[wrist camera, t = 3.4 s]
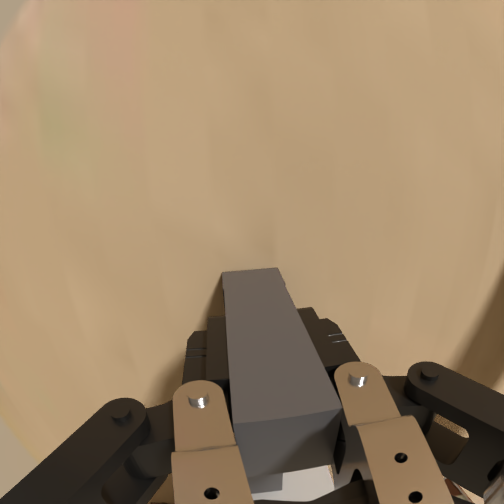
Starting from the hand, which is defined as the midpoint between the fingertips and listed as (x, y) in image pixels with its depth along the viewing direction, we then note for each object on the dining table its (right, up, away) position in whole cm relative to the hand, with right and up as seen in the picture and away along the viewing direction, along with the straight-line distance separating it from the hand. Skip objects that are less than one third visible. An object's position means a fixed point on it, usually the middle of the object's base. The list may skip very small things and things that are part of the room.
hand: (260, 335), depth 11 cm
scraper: (0, -6, +6) cm, 9 cm away
